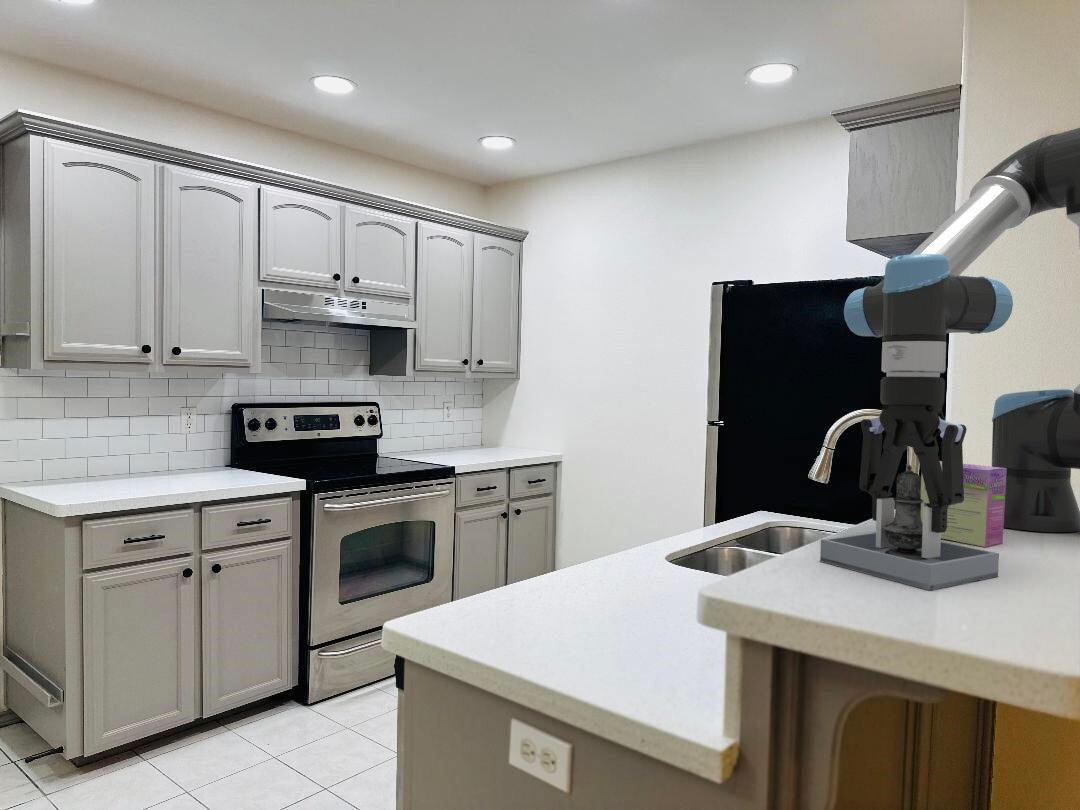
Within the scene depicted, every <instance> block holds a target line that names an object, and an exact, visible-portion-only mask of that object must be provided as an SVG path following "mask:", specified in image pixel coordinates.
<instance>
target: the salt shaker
mask: <svg viewBox="0 0 1080 810" xmlns="http://www.w3.org/2000/svg"><path fill="white" fill-rule="evenodd" d="M912 469H913V467H912V465H911V464H908V465H907V467H906V470H905V471H903V472H901V473H898V475H897V476H896V496H895V497H892V498H893V500H895V508H894V520H893V522H892V523H891V524H889V525H884V526H883V528H884V529H885V530H886V537H887V539H888V541H889V542H890V543H891V544H892V545H893V546H896V547H898V548H893V549H889V550H888V551H886V552H885V554H890V555H894V556H898V557H902V558H907V559H911V560H927V558H922V551H918V550H916V549H919V548H922V531H923V524H922V520H921V503H922V502H924V501H923V500H922V499H921V476H920V475H919V473H917V472H916V473H915V472H914V471H912ZM928 559H929V558H928Z"/></svg>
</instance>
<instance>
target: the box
mask: <svg viewBox="0 0 1080 810" xmlns="http://www.w3.org/2000/svg"><path fill="white" fill-rule="evenodd" d="M939 461H940V465H941V468H942V460H939ZM1006 471H1007V469H1006V468H999V467H992V466H990V465H989V466H988V465H987V466H986V465H980V464H971V463H969V464H968V463H963V482H964V501H963V502H962V503H958V504H953V505H950V506H949V507H948V509H947V529H946V531H945V532H942V533H941V540H942V539H943V540H948V541H952V542H957V543H962V544H967V545H970V546H971V545H972V546H976V547H980V548H989V547H995V546H998V545H1002V544H1003V543H1004V529H1005V527H1004V510H1005V492H1006ZM920 477H921V499H922V500H923V501H924V502H922V503H921V520H922V524H923V507H924V506H927V505H926V504H928V503H929V499H928V495H927V491H926V487H925V483H924V479H923V475H922V474H921V476H920Z"/></svg>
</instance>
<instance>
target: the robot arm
mask: <svg viewBox="0 0 1080 810" xmlns="http://www.w3.org/2000/svg"><path fill="white" fill-rule="evenodd" d="M968 197H969V198H968V199H967V200H966V202H964V203H963V204H962V205H961V206H960V207H959V208H957V210H956V211H954V213H952V214H951V215H950V217H948V218H947V219H946V220H945V221H944V222H943V223H942V224H941V225H940V226H939V227H938V228H937V229H936V230H934V231H933V232H932V233H931V234H930V235H929V236H928V237H927V238H926V239H925V240H924V241H923V242H922V243H921V244H919V246H918V247H917V248H915V249H914V250H913V251H912V252H911V253H910V254H902V255H899V256H895V257H892V258H890V259H889V260H888V261H887V262H886V264H885V270H884V278H883V279H882V280H881V281H880V282H879V283H878V284H876V285H874V286H865V287H863V288H859V289H855V290H854V291H853V292H851V293H850V294H849V296H848V297H847V299H846V301H845V303H844V308H843V314H844V315H843V316H844V320H845V322H846V324H847V327H848V328H849V330H850V331H851V332H852V333H854V334H855V335H857V336H860V337H875V338H882V345H881V346H882V348H881V372H883V373H886V376H883V377H882V379H880V398H879V399H880V403H881V404H882V409H881V412H880V413H879V417H878V416H877V417H875V418H868V419H867V418H866V419H862V420H861V421H860V427H861V431H862V436H863V438H862V448H861V460H860V470H859V471H860V472H859V473H860V474H859V481H858V483H859V485H858V487H859V490H860V491H861V492H866V493H868V494H869V495H870V496H871V498H872V505H871V512H872V514H871V517H872V518H871V519H872V521H875V532H876V547H879V548H883V547H890V546H893V545H892V544H891V543H890V542H889V541H888V539H887V537H886V530H885V529H884V528H883V526H884V525H889V524H891V523H892V522H893V520H894V517H895V506H896V502H895V500H893V498H894V497H891V496H892V495H894V494H893V492H891V491H892V490H891V489H892V487H893V483H894V481H895V479H896V475H897V472H898V469H899V466H900V463H901V460H902V457H903V454H904V452H905V451H907V448H909V447H910V448H913V453H914V454H915V455H916V456H917V460H918V463H919V468H920V471H921V475H923V479H924V483H925V487H926V491H927V495H928V499H929V503H928V504H926V505H927V506H924V507H923V531H922V558H927V559H928V558H933V557H939V556H940V546H941V542H942V541H941V540H942V538H941V533H942V532H945V531H946V529H947V509H948V507H949V506H950V505H953V504H958V503H962V502H963V501H964V482H963V464H964V461H963V459H964V454H963V443H964V439H965V436H966V433H967V426H966V425H965V424H955V423H953V422H949V421H947V420H946V418H945V415H944V414H943V406H944V403H945V388H946V386H945V385H946V380H945V379H944V378H943V377H940V376H941V374H944V373H945V372H946V365H947V364H946V363H947V362H946V358H947V355H946V354H947V334H952V333H953V334H954V333H955V334H956V333H958V334H959V333H962V334H963V333H967V334H968V333H969V334H970V335H975V334H976V335H977V334H983V333H984V334H987V333H992V332H995V331H997V330H999V329H1000V328H1002V327H1003V326H1004V325H1005V324H1006V323H1007V321H1008V320H1009V319H1010V317H1011V314H1012V312H1013V307H1014V301H1013V300H1014V299H1013V296H1012V293H1011V290H1010V289H1009V288H1008V287H1007V285H1005V284H1004V283H1003V282H1001V281H999V280H996V279H993V278H988V277H985V276H968V275H961V274H962V273H964V272H965V271H966V270H967V269H968V267H970V266H971V264H973V262H975V261H976V260H977V259H978V258H979V256H981V255H982V254H983V253H984V252H985V250H987V249H988V248H989V247H990V246H991V245H992V244H993V243H994V242H995V241H997V239H998V238H999V237H1000V236H1001V235H1003V233H1004V232H1005V231H1006V230H1009V229H1013V228H1015V227H1018V226H1020V225H1021V224H1022V223H1023V222H1024V221H1026V220H1027V218H1029V217H1032V216H1033V215H1036V214H1040V213H1043V212H1045V211H1051V210H1055V209H1063V208H1065V209H1066V211H1065V212H1066V213H1065V214H1066V219H1068V220H1069V221H1070V222H1072V223H1073V224H1075V225H1076V226H1077V227H1078V240H1079V243H1078V244H1079V245H1078V246H1079V248H1080V127H1078V128H1075V129H1073V128H1072V129H1070V130H1067V131H1063V132H1059V133H1056V134H1051V135H1047V136H1044V137H1041V138H1038V139H1036V140H1034V141H1032V142H1030V143H1028V144H1026V145H1024V146H1023V147H1021V148H1020V149H1018V150H1016V151H1015V152H1013V153H1011V155H1009V156H1007V157H1006V158H1005V159H1003V160H1002V161H1001V162H1000V163H998V164H997V165H996V166H995V167H993V168H992V169H991V170H990V171H988V172H987V173H986V174H985V175H984V176H983V177H981V179H980V180H978V181H977V182H976V183H975V184H974V185H973V187H972V188H971V190H970V192H969V196H968ZM991 422H992V436H991V437H992V438H991V439H992V440H991V441H992V442H991V467H999V468H1006V469H1007V471H1006V492H1005V510H1004V529H1005V528H1007V529H1012V530H1020V531H1022V530H1023V531H1030V532H1041V533H1042V532H1043V533H1070V532H1071V533H1072V532H1073V533H1074V532H1078V531H1080V508H1079V504H1078V502H1077V500H1076V496H1075V493H1074V489H1073V487H1072V483H1071V482H1072V481H1071V476H1072V469H1075V470H1080V383H1079V384H1078V385H1077V386H1076V387H1075V388H1074V389H1073V390H1072V389H1068V388H1067V389H1065V388H1063V389H1044V390H1031V391H1030V390H1029V391H1019V392H1011V393H1006V394H1002V395H1000V396H999V397H997V398H996V400H995V402H994V407H993V412H992V418H991ZM883 432H885V433H886V435H885V437H884V440H883ZM939 433H940V434H939ZM938 434H939V436H940V437H941V439H942V440H941V460H940V457H939V451H940V448H939V445H938V441H937V436H938ZM882 449H883V452H882ZM940 461H942V468H941V465H940Z"/></svg>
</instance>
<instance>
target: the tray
mask: <svg viewBox="0 0 1080 810" xmlns="http://www.w3.org/2000/svg"><path fill="white" fill-rule="evenodd" d="M893 548H898V547H896V546H890V547H883V548H879V547H876V531H874V532H873V531H872V532H867V533H858V534H851V535H845V536H844V535H843V536H836V537H831V538H822V539H820V552H819V553H820V555H819V556H820V558H819V559H820V560H819V562H821V563H826V564H828V565H832V566H836V567H840V568H843V569H847V570H852V571H855V572H859V573H863V574H866V575H869V576H874V577H877V578H881V579H885V580H889V581H892V582H895V583H896V582H897V583H900V584H903V585H907V586H911V587H915V588H919V589H922V590H925V591H936V590H940V589H945V588H946V589H947V588H950V587H955V586H959V584H960V585H964V584H963V583H965V584H967V583H966V582H970V583H973V582H972V581H975V582H978V581H977V580H980V581H983V580H982V579H984V580H987V579H988V578H989V579H992V577H994V578H998V577H999V564H1000V563H999V560H1000V559H999V556H1000V553H999V552H995V551H990V550H985V549H981V548H975V547H970V546H965V545H961V544H960V545H959V544H956V543H950V542H946V541H941V546H940V556H939V557H933V558H929V559H927V560H911V559H907V558H902V557H898V556H894V555H890V554H885V552H886V551H888V550H889V549H893ZM916 550H918V551H922V548H919V549H916ZM989 579H988V580H989Z"/></svg>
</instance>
